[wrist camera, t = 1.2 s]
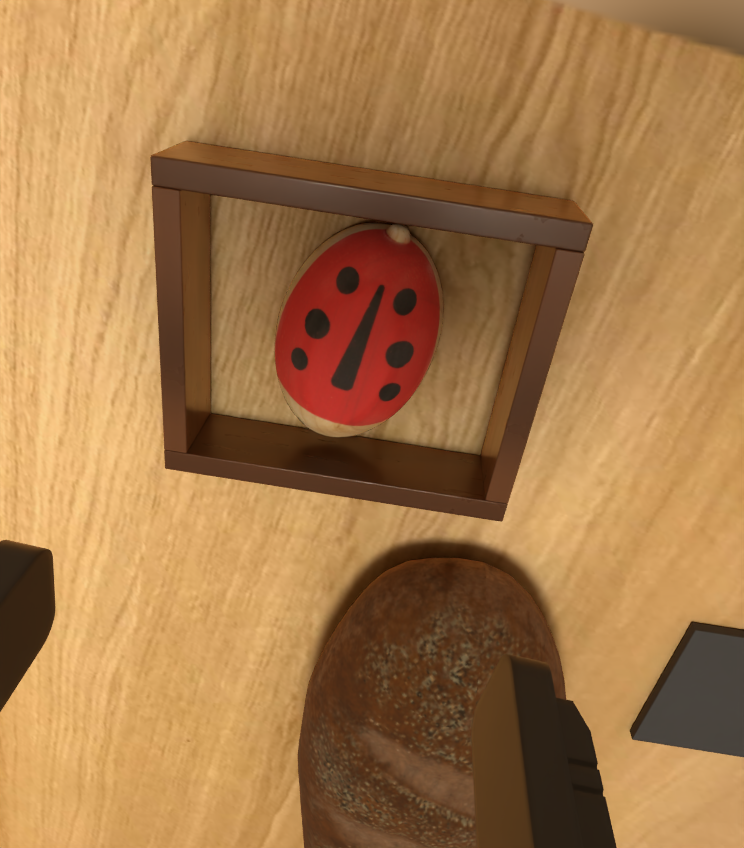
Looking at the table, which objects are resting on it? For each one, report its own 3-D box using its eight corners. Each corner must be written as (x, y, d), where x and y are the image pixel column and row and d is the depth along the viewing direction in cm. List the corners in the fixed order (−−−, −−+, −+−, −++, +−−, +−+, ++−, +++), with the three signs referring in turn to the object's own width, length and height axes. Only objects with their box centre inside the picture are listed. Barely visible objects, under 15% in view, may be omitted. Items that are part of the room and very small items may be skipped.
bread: (314, 868, 53) (295, 999, 46) (302, 528, 34) (266, 661, 27) (506, 890, 52) (517, 1027, 45) (604, 552, 33) (650, 696, 26)
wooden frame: (184, 140, 24) (149, 154, 21) (574, 200, 24) (594, 223, 21) (190, 427, 31) (164, 469, 28) (496, 475, 31) (502, 522, 28)
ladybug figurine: (261, 397, 30) (241, 437, 27) (313, 186, 25) (295, 207, 22) (397, 439, 31) (393, 483, 28) (475, 241, 25) (480, 269, 22)
